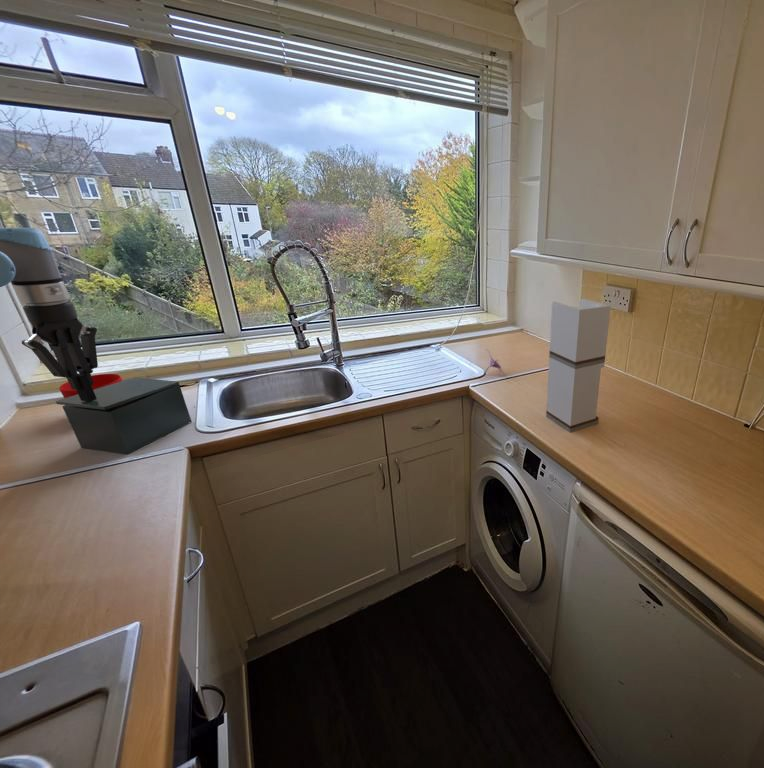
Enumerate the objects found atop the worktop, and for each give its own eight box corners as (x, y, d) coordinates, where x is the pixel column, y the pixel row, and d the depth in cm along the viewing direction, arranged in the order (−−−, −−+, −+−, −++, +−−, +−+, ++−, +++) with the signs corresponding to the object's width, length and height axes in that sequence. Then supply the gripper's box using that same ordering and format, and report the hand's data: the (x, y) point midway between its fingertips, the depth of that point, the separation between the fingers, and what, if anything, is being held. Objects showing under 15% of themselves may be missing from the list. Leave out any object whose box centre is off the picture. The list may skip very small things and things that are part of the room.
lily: (499, 384, 149) (511, 361, 148) (471, 370, 149) (482, 346, 148) (502, 382, 161) (513, 360, 160) (475, 368, 161) (486, 347, 160)
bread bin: (127, 454, 101) (110, 412, 96) (81, 447, 103) (61, 406, 99) (191, 421, 117) (179, 384, 112) (150, 416, 119) (136, 379, 115)
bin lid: (105, 410, 95) (104, 407, 95) (56, 404, 98) (55, 401, 98) (179, 384, 112) (178, 381, 112) (136, 379, 115) (135, 377, 115)
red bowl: (56, 432, 110) (40, 399, 106) (85, 407, 124) (72, 377, 121) (117, 423, 115) (104, 391, 111) (138, 400, 129) (127, 371, 126)
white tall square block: (597, 423, 120) (610, 305, 106) (569, 432, 115) (579, 309, 101) (573, 408, 129) (582, 298, 115) (546, 416, 123) (552, 301, 110)
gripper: (22, 309, 82) (69, 413, 92) (94, 298, 94) (129, 390, 103) (-6, 307, 84) (43, 410, 93) (68, 296, 96) (106, 388, 105)
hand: (89, 399), depth 98 cm, fingers closed
